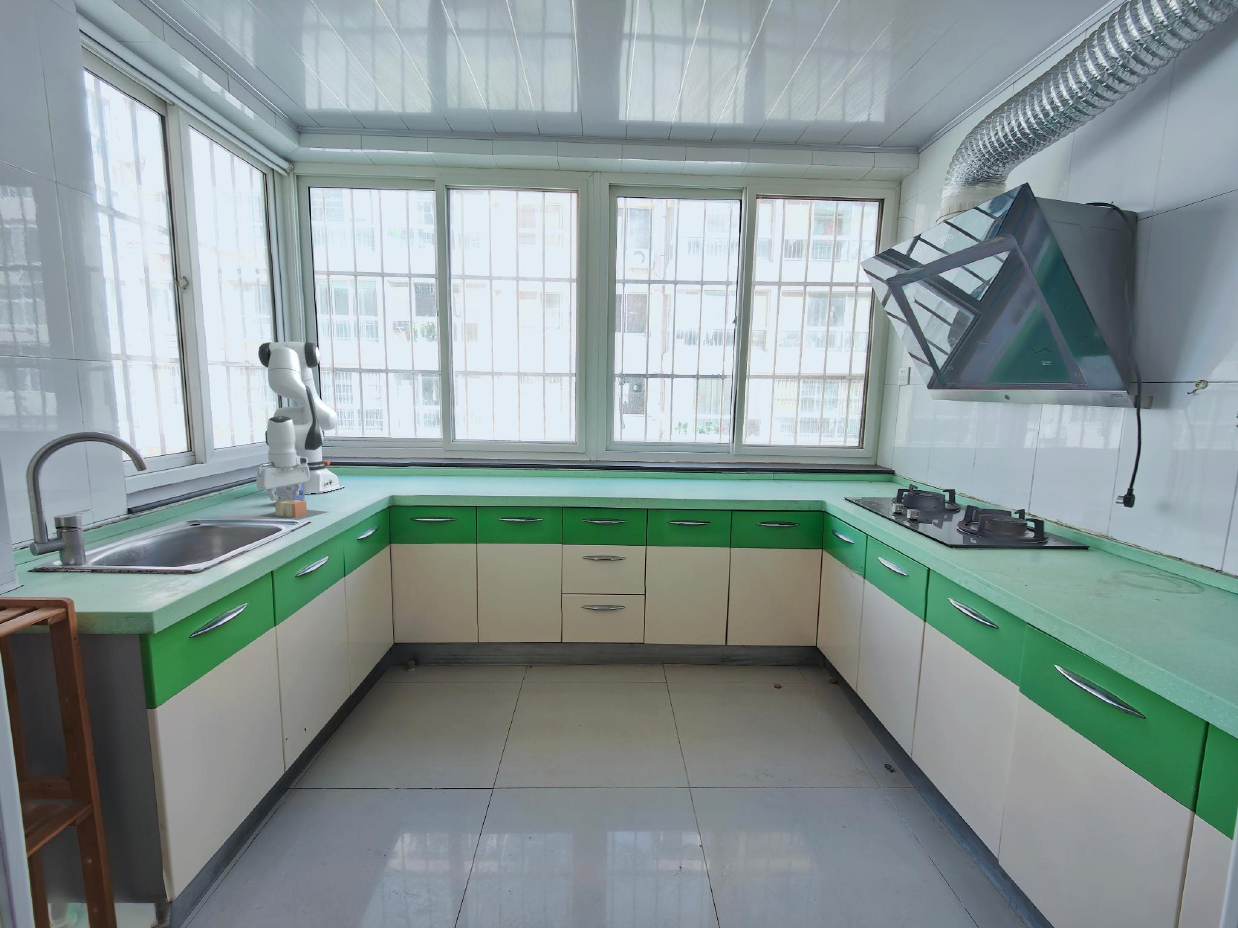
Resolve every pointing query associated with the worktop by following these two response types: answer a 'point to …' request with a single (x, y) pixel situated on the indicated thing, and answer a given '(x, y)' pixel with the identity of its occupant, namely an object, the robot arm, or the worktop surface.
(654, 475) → the worktop surface
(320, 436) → the robot arm
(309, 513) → the rubber mat
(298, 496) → the ink cartridge box
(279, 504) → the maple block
